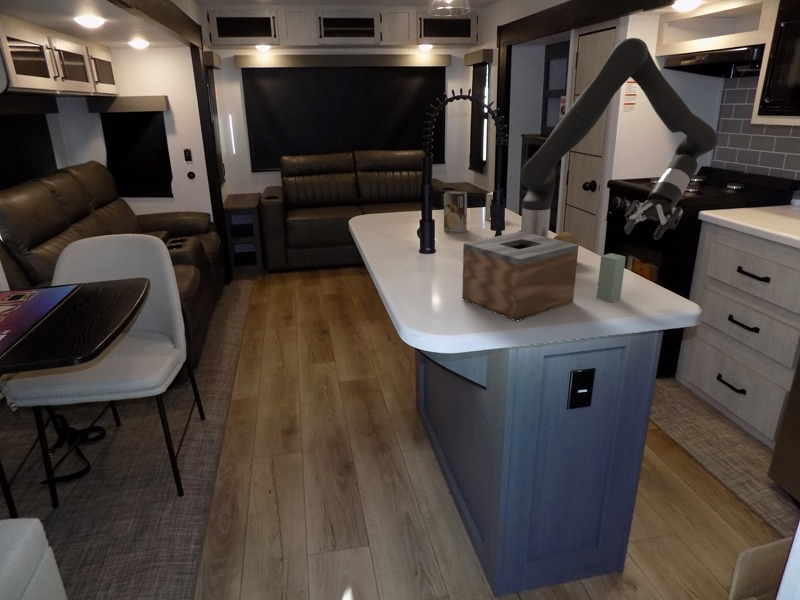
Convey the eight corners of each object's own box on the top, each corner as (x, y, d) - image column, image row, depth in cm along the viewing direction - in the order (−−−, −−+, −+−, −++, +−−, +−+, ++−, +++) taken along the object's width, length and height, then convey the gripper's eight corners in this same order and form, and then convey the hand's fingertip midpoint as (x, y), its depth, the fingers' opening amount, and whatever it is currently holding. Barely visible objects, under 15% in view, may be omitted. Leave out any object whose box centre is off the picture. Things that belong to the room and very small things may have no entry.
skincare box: (491, 217, 252) (492, 191, 248) (500, 218, 250) (501, 192, 246) (484, 220, 248) (485, 193, 244) (493, 221, 245) (494, 194, 241)
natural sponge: (554, 256, 188) (556, 228, 185) (580, 259, 184) (583, 231, 180) (546, 263, 181) (548, 233, 177) (573, 266, 176) (576, 236, 173)
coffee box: (467, 229, 231) (468, 191, 225) (464, 232, 225) (465, 193, 219) (446, 228, 233) (446, 191, 228) (443, 231, 228) (443, 193, 222)
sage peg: (596, 298, 148) (601, 255, 144) (606, 294, 150) (611, 253, 146) (610, 302, 145) (615, 259, 141) (620, 298, 147) (625, 256, 143)
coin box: (462, 299, 149) (463, 243, 143) (517, 284, 161) (520, 231, 155) (516, 321, 133) (520, 259, 128) (572, 302, 145) (578, 244, 140)
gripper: (641, 178, 154) (612, 223, 152) (691, 183, 143) (661, 231, 141) (649, 194, 158) (621, 238, 156) (697, 200, 148) (668, 248, 145)
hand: (640, 235), depth 148 cm, fingers open, 8 cm apart
